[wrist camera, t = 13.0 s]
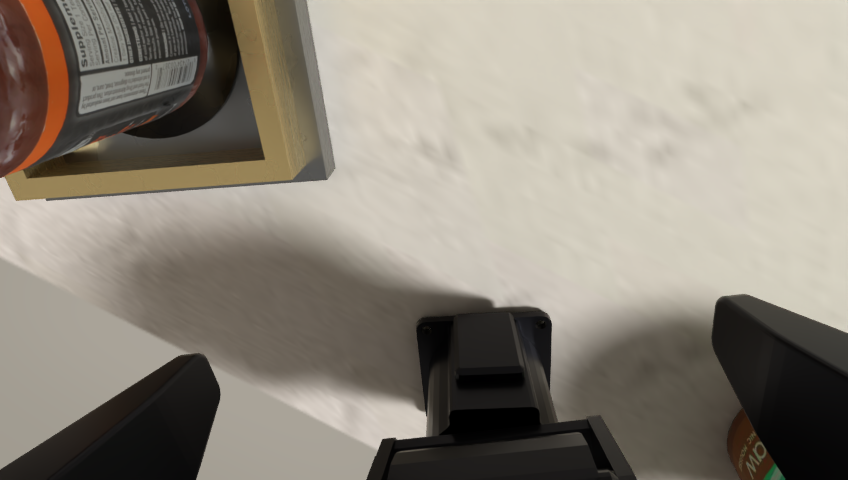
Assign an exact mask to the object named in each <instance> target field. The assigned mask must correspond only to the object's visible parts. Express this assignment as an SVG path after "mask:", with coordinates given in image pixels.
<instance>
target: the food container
mask: <svg viewBox="0 0 848 480" xmlns="http://www.w3.org/2000/svg"><path fill="white" fill-rule="evenodd" d="M727 451H728V454H729V457H730V460H731V462H732V464H733V466H734V467H735V469H736V471H737V473H738V475H739V477H740V479H741V480H785V478H784V477H783V475H782V474H781V472H780V470H779V469H778V467H777V466H776V464H775V463H774V461H773V460H772V458H771V457H770V455H769V453H768V452H767V450H766V449H765V447H764V446H763V444H762V442H761V441H760V439H759V437H758V436H757V434H756V432H755V430H754V429H753V427H752V425H751V423H750V421H749V419H748V417H747V415H746V413H745V411H744V409H743V408H742V409H741V410H740V411H739V413H738V414H737V416H736V417H735V419H734V420H733V422H732V425H731V427H730V430H729V433H728V438H727Z"/></svg>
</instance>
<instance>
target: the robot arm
mask: <svg viewBox="0 0 848 480" xmlns="http://www.w3.org/2000/svg"><path fill="white" fill-rule="evenodd" d="M540 320H542V321H544V323H543V324H536V323H537V322H538V321H540ZM425 326H428V327H430V328H431V329H429V330H424V329H423V327H425ZM416 332H417V341H418V349H419V358H420V366H421V375H422V384H423V392H424V401H425V409H426V416H427V431H426V437H421V438H412V439H403V440H397V439H396V438H387V439H382V442H381V444H380V447H379V449H378V452H377V455H376V456H375V458H374V461H373V463H372V466H371V469H370V471H369V474H368V477H367V479H366V480H637V478H636V476H635V474H634V473H633V471H632V469H631V468H630V466H629V464H628V462H627V461H626V459H625V457H624V455H623V454H622V452H621V450H620V448H619V447H618V445H617V443H616V442H615V440H614V438H613V436H612V435H611V433H610V431H609V429H608V428H607V426H606V424H605V423H604V421H603V419H602V417H601V416H600V415H597V416H587V417H586V420H576V421H567V422H558V419H557V416H556V412H555V409H554V405H553V401H552V398H551V394H550V370H551V333H552V323H551V320H550V317H549V315H548V314H547V313H545V312H541V311H537V312H518V313H509V312H495V313H476V314H459V315H457V316H441V317H425V318H422V319H420V320H419V321H418V323H417V330H416ZM711 339H712V346H713V349H714V352H715V354H716V356H717V358H718V360H719V362H720V364H721V366H722V368H723V370H724V372H725V374H726V376H727V378H728V380H729V382H730V384H731V386H732V388H733V390H734V392H735V394H736V396H737V398H738V400H739V401H740V403H741V405H742V407H743V409H744V411H745V413H746V415H747V417H748V419H749V421H750V423H751V425H752V427H753V429H754V430H755V432H756V434H757V436H758V437H759V439H760V441H761V442H762V444H763V446H764V447H765V449H766V450H767V452H768V453H769V455H770V457H771V458H772V460H773V461H774V463H775V464H776V466H777V467H778V469H779V470H780V472H781V474H782V475H783V477H784V478H785V480H848V333H846V332H843V331H841V330H838V329H835V328H833V327H830V326H828V325H825V324H822V323H820V322H817V321H815V320H812V319H810V318H807V317H804V316H802V315H799V314H797V313H794V312H791V311H789V310H786V309H784V308H781V307H778V306H776V305H773V304H771V303H768V302H765V301H763V300H760V299H758V298H755V297H753V296H750V295H746V294H740V295H731V296H722V297H720V298H719V299H718V300H717V302H716V305H715V312H714V320H713V328H712V338H711ZM219 401H220V388H219V385H218V382H217V380H216V378H215V376H214V373H213V371H212V369H211V366H210V364H209V362H208V360H207V358H206V357H205V356H204V355H203V354H200V353H196V354H186V355H180V356H178V357H176V358H174V359H173V360H171V361H170V362H168V363H167V364H165V365H164V366H162V367H160V368H159V369H157V370H156V371H154V372H153V373H151V374H149V375H148V376H146V377H145V378H143V379H142V380H140V381H139V382H137V383H135V384H134V385H132V386H131V387H129V388H128V389H126V390H125V391H123V392H121V393H120V394H118V395H116V396H115V397H113V398H112V399H110V400H109V401H107V402H105V403H104V404H102V405H101V406H99V407H98V408H96V409H95V410H93V411H91V412H90V413H88V414H87V415H85V416H84V417H82V418H80V419H79V420H77V421H76V422H74V423H73V424H71V425H69V426H68V427H66V428H65V429H63V430H62V431H60V432H59V433H57V434H55V435H54V436H52V437H51V438H49V439H48V440H46V441H44V442H43V443H41V444H40V445H38V446H37V447H35V448H33V449H32V450H30V451H29V452H27V453H26V454H24V455H23V456H21V457H19V458H18V459H16V460H15V461H13V462H12V463H10V464H8V465H7V466H5V467H4V468H2V469H1V470H0V480H196V478H197V475H198V472H199V468H200V466H201V462H202V459H203V456H204V452H205V449H206V445H207V442H208V439H209V435H210V432H211V428H212V425H213V421H214V418H215V415H216V411H217V408H218V404H219Z"/></svg>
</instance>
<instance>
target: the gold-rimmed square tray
mask: <svg viewBox="0 0 848 480" xmlns="http://www.w3.org/2000/svg"><path fill="white" fill-rule="evenodd" d="M195 1H196V3H197V5H198V7H199V10H200V12H201V14H202V17H203V22H204V25H205V29H206V33H207V41H208V53H207V64H206V68H205V71H204V75H203V79H202V81H201V84H200V86H199V87H198V89H197V91H196V93H195V94H194V95H193V96H192V97H191V98H190V99H189V100H188V101H187V102H186V103H185V104H184V105H183V106H181V107H180V108H178V109H176V110H175V111H173V112H171V113H169V114H167V115H165V116H163V117H161V118H160V119H157V120H155V121H151V122H149V123H147V124H144V125H140V126H138V127H135V128H132V129H130V130H127V131H125V132H122V133H119V134H116V135H113V136H111V137H108V138H105V139H103V140H100V141H97V142H95V143H92V144H89V145H86V146H84V147H81V148H79V149H77V150H75V151H72V152H70V153H67V154H64V155H61V156H59V157H56V158H54V159H51V160H48V161H45V162H43V163H40V164H38V165H36V166H33V167H31V168H27V169H24V170H21V171H18V172H15V173H12V174H9V175H7V176H5V178H6V180H7V183H8V185H9V187H10V189H11V191H12V193H13V195H14V197H15V199H16V201H19V200H32V199H45V198H46V201H50V200H64V199H77V198H91V197H104V196H117V195H131V194H144V193H158V192H171V191H184V190H198V189H211V188H224V187H238V186H251V185H265V184H278V183H291V182H305V181H318V180H327V179H328V178H329V176H330V175H331V174H332V172H333V171H334V169H335V163H334V158H333V152H332V146H331V140H330V134H329V129H328V123H327V117H326V111H325V106H324V100H323V94H322V88H321V82H320V77H319V71H318V65H317V59H316V53H315V48H314V42H313V36H312V30H311V24H310V19H309V13H308V7H307V1H306V0H195Z"/></svg>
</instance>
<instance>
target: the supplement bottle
mask: <svg viewBox="0 0 848 480" xmlns="http://www.w3.org/2000/svg"><path fill="white" fill-rule="evenodd" d="M207 53H208V41H207V33H206V29H205V25H204V22H203V17H202V14H201V12H200V10H199V7H198V5H197V3H196V1H195V0H0V178H2V177H4V176H7V175H9V174H12V173H15V172H18V171H21V170H24V169H27V168H31V167H33V166H36V165H38V164H40V163H43V162H45V161H48V160H51V159H54V158H56V157H59V156H61V155H64V154H67V153H70V152H72V151H75V150H77V149H79V148H81V147H84V146H86V145H89V144H92V143H95V142H97V141H100V140H103V139H105V138H108V137H111V136H113V135H116V134H119V133H122V132H125V131H127V130H130V129H132V128H135V127H138V126H140V125H144V124H147V123H149V122H151V121H155V120H157V119H160V118H161V117H163V116H165V115H167V114H169V113H171V112H173V111H175V110H176V109H178V108H180V107H181V106H183V105H184V104H185V103H186V102H187V101H188V100H189V99H190V98H191V97H192V96H193V95H194V94H195V93H196V91H197V89H198V87H199V86H200V84H201V81H202V79H203V75H204V71H205V68H206V64H207Z"/></svg>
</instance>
